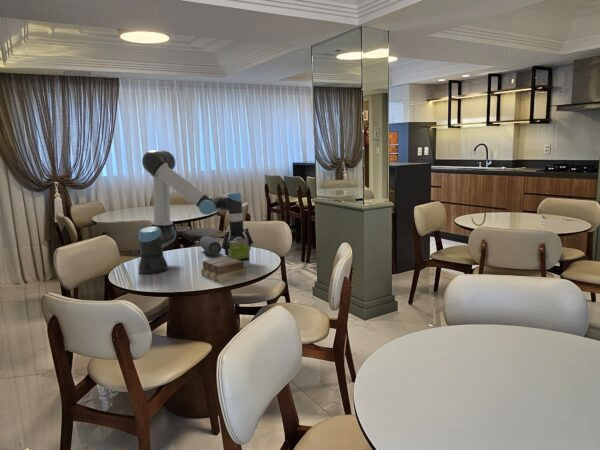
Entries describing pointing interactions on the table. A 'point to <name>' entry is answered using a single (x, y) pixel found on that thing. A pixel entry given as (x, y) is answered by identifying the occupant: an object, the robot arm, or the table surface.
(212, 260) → the walnut slab
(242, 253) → the tea box
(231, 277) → the oak slab
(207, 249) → the bluetooth speaker
